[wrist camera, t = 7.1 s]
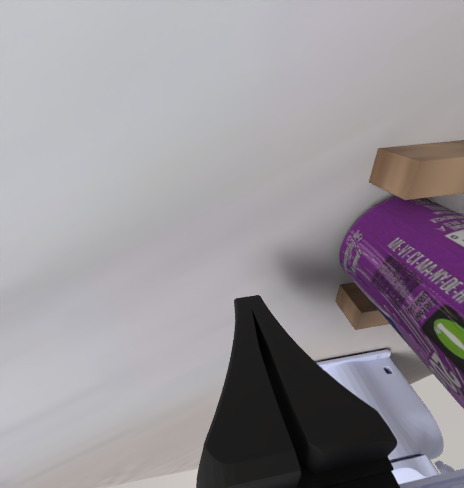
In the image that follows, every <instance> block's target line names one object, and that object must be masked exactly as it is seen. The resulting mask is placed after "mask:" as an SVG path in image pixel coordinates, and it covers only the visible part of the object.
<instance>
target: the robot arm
mask: <svg viewBox="0 0 464 488" xmlns="http://www.w3.org/2000/svg"><path fill="white" fill-rule="evenodd" d="M234 305H235V332H234V340H233V346H232V352H231V357H230V362H229V367H228V371H227V375H226V379H225V383H224V386H223V390H222V393H221V397H220V400H219V403H218V406H217V409H216V412H215V415H214V418H213V421H212V424H211V426H210V429H209V432H208V434H207V437H206V440H205V443H204V447H203V452H202V456H201V460H200V464H199V469H198V475H197V484H196V488H464V469H461V470H456V471H454V469H453V468H452V467H450V466H448V465H446V464H445V465H444V464H443V462H441V461H437V462H435V465H436V466H437V468H438V469H439V471H440V472H441V474H440V475H439V473H438V471H437V470H436V468H435V467H434V465H433V464H432V462H431V461H430V459H434V458H436V457H438V456H440V455H441V454H442V451H443V438H442V435H441V432H440V429H439V427H438V425H437V423H436V421H435V419H434V417H433V416H432V414H431V412H430V411H429V410H428V408H427V407H426V405H425V404H424V403H423V401H421V399H420V397H419V396H418V395H417V393H416V392H415V391H414V390H413V388H412V387H411V385H410V384H409V383H408V381H407V380H406V379H405V377H404V376H403V375H402V373H401V372H400V371H399V369H398V368H397V367H396V365H395V364H394V363H393V361H392V360H391V359H390V355H391V352H390V351H389V350H381V351H376V352H370V353H365V354H359V355H354V356H349V357H343V358H338V359H333V360H327V361H322V362H315V361H314V360H312V359H311V358H310V357H309V356H308V355H307V354H306V353H305V352H304V351H303V350H302V349H301V348H300V347H299V346H298V345H297V344H296V342H295V341H294V340H293V339H292V338H291V337H290V336H289V335H288V333H287V332H286V331H285V330H284V329H283V327H282V326H281V325H280V324H279V322H278V321H277V320H276V319H275V317H274V316H273V315H272V313H271V312H270V310H269V309H268V308H267V306H266V305H265V303H264V301H263V300H262V298H261V296H259V295H256V296H250V297H243V298H236V299H235V300H234Z"/></svg>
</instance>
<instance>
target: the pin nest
mask: <svg viewBox="0 0 464 488" xmlns="http://www.w3.org/2000/svg"><path fill="white" fill-rule="evenodd" d="M369 182H370V183H372V184H374V185H376V186H378V187H380V188H382V189H384V190H386V191H388V192H390V193H392V194H394V195H396V196H398V197H400V198H402V199H404V200H411V199H419V198H427V197H436V196H444V195H452V194H460V193H464V140H462V141H452V142H442V143H431V144H421V145H410V146H400V147H390V148H379V149H378V152H377V155H376V159H375V162H374V166H373V170H372V173H371V177H370V180H369ZM336 303H337V304H338V306H339V307H340V309H341V310H342V312H343V313H344V314H345V316H346V317H347V319H348V320H349V322H350V323H351V324H352V326H353V327H354V329H355V330H357V329H363V328H368V327H374V326H380V325H386V324H390V323H389V322H388V321H387V320H386V318H385V317H384V316H383V315H382V314H381V313H380V311H379V310H378V309H377V308H376V307H375V306H374V304H373V303H372V302H371V301H370V300H369V299H368V298H367V296H366V295H365V294H364V293H363V292H362V291H361V289H360V288H359V287H358V286H357V285H356V284H355V283H351V284H345V285H340V287H339V291H338V295H337V298H336Z"/></svg>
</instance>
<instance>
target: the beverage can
mask: <svg viewBox="0 0 464 488" xmlns="http://www.w3.org/2000/svg"><path fill="white" fill-rule="evenodd" d="M340 263H341V266H342V268H343V270H344V271H345V272H346V273H347V274H348V275H349V277H350V278H351V279H352V280H353V281H354V282H355V284H356V285H357V286H358V287H359V288H360V289H361V291H362V292H363V293H364V294H365V295H366V296H367V298H368V299H369V300H370V301H371V302H372V303H373V304H374V306H375V307H376V308H377V309H378V310H379V311H380V313H381V314H382V315H383V316H384V317H385V318H386V320H387V321H388V322H389V323H390V324H391V325H392V327H393V328H394V329H395V330H396V331H397V332H398V333H399V335H400V336H401V337H402V338H403V339H404V340H405V342H406V343H407V344H408V345H409V346H410V347H411V349H412V350H413V351H414V352H415V353H416V354H417V355H418V357H419V358H420V359H421V360H422V361H423V362H424V364H425V365H426V366H427V367H428V368H429V369H430V371H431V372H432V373H433V374H434V375H435V376H436V378H437V379H438V380H439V381H440V382H441V383H442V384H443V386H444V387H445V388H446V389H447V390H448V391H449V393H451V395H452V396H453V397H454V398H455V400H456V401H457V402H458V403H459V404H460V405H461V406H462V407H463V408H464V216H463V215H460V214H458V213H456V212H454V211H452V210H450V209H447V208H445V207H443V206H441V205H439V204H436V203H434V202H432V201H430V200H428V199H426V198H419V199H411V200H404V199H402V198H400V197H394V198H391V199H388V200H386V201H383V202H381V203H379V204H378V205H376V206H374V207H373V208H371V209H370V210H368V211H367V212H366V213H364V214H363V215H362V216H361V217H360V218H359V219H358V220H357V221H356V222H355V223H354V224H353V225H352V227H351V228H350V229H349V231H348V232H347V234H346V236H345V238H344V240H343V242H342V245H341V248H340Z"/></svg>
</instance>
